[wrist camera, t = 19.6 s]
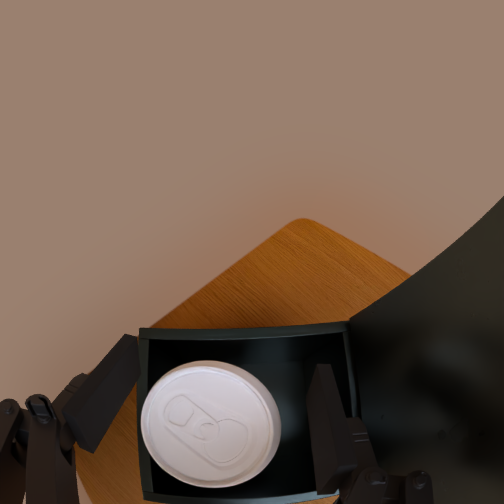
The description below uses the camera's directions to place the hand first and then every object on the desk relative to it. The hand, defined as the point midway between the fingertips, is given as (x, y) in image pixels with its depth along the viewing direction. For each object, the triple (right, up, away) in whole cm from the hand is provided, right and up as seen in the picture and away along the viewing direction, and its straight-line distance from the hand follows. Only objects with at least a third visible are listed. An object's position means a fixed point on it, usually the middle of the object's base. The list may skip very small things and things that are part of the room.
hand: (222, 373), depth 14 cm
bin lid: (+10, 0, -6) cm, 12 cm away
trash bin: (+1, -11, +13) cm, 17 cm away
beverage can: (-1, -9, +9) cm, 12 cm away
